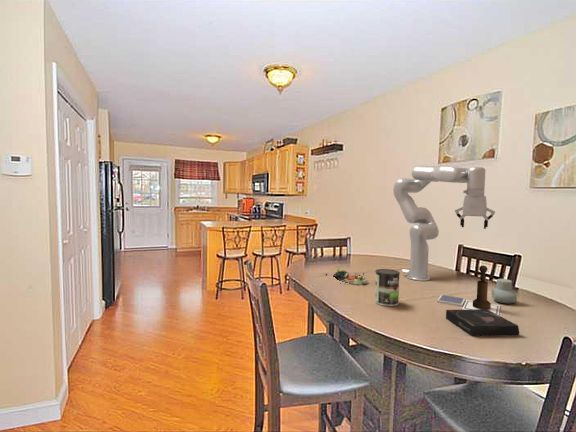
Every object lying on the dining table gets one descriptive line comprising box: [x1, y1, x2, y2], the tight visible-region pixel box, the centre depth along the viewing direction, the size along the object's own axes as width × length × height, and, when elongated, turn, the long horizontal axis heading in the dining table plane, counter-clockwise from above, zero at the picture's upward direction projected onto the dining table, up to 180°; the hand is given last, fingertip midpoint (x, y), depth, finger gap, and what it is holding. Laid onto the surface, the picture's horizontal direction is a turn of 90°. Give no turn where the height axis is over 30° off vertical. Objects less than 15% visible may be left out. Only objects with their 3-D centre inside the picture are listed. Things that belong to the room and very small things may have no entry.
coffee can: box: [374, 268, 401, 307], centre depth 150 cm, size 10×10×14 cm
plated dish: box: [333, 268, 370, 286], centre depth 189 cm, size 35×28×7 cm
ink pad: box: [436, 294, 466, 308], centre depth 153 cm, size 10×10×1 cm
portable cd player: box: [445, 309, 520, 337], centre depth 124 cm, size 16×17×4 cm
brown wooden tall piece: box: [472, 264, 492, 310], centre depth 144 cm, size 7×6×18 cm
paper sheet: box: [461, 299, 501, 316], centre depth 144 cm, size 13×15×1 cm
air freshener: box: [491, 278, 518, 305], centre depth 153 cm, size 11×8×10 cm
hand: (473, 227), depth 166 cm, fingers open, 9 cm apart
